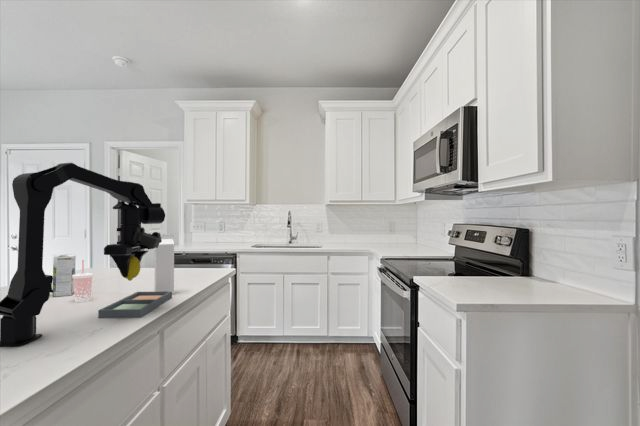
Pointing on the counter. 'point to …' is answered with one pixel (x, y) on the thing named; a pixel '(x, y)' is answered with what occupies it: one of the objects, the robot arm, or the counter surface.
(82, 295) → the beverage cup
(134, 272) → the lemon
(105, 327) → the counter surface
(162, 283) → the milk
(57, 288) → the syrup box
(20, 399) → the counter surface
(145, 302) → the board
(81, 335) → the counter surface
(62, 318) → the counter surface
